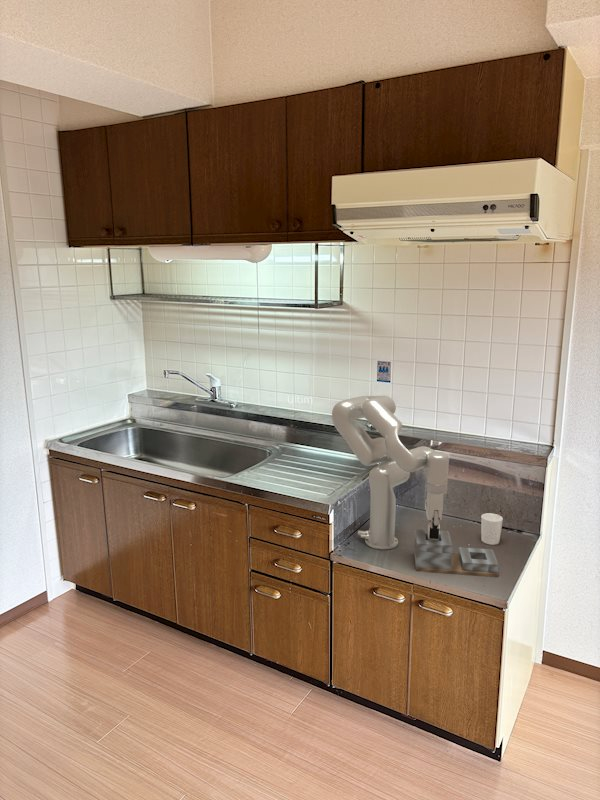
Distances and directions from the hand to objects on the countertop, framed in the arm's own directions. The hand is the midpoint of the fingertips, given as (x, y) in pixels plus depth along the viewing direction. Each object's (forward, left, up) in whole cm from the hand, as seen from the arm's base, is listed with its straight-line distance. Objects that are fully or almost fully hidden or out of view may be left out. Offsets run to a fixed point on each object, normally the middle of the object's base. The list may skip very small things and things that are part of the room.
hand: (433, 535), depth 218 cm
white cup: (+24, +22, -11) cm, 34 cm away
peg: (0, 0, -4) cm, 4 cm away
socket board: (+8, 0, -11) cm, 13 cm away
